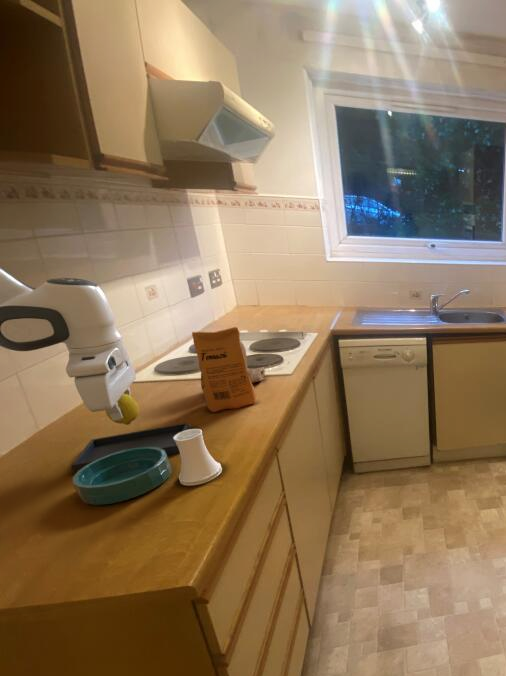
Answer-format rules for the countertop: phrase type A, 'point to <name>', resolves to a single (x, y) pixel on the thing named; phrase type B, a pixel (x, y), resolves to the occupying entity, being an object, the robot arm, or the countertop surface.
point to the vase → (195, 458)
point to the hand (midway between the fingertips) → (123, 412)
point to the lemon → (126, 409)
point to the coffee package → (223, 370)
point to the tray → (130, 443)
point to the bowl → (122, 475)
